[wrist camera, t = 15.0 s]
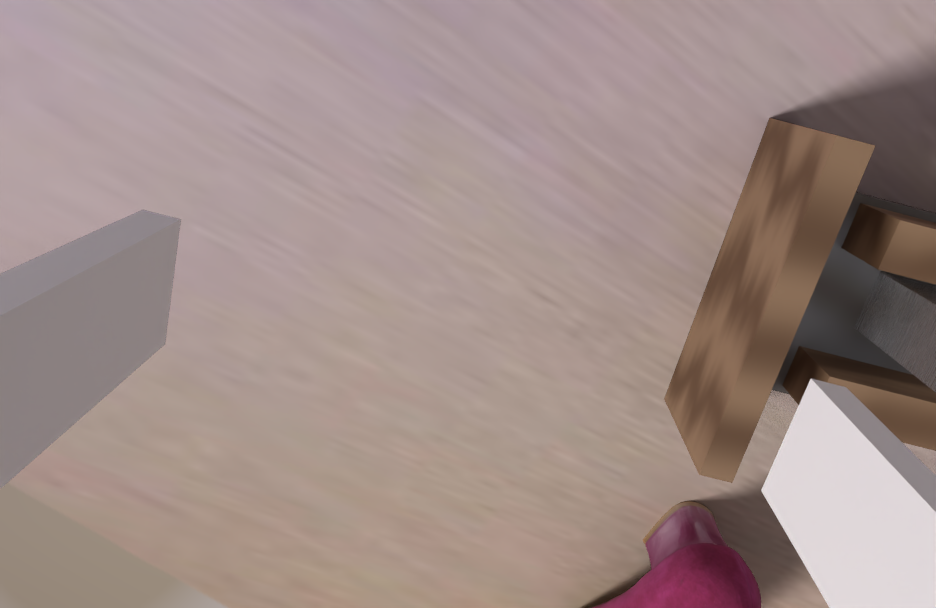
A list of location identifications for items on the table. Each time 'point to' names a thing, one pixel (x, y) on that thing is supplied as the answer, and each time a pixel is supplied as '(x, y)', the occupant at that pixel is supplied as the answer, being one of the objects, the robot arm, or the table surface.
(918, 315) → the grey rectangular block
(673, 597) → the high heel
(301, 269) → the table surface
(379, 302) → the table surface
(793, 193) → the wooden prong rack
